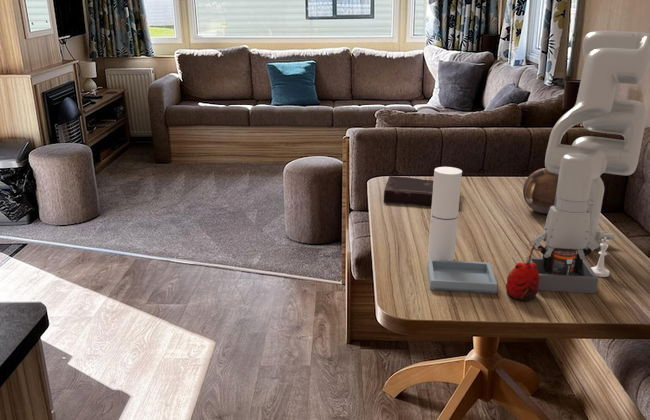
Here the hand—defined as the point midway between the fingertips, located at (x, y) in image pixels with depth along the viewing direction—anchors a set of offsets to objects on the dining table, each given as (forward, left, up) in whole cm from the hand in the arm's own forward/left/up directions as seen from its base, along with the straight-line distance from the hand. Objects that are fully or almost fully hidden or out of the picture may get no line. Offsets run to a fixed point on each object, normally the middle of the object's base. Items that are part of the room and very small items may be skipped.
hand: (560, 270), depth 160 cm
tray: (+25, +2, -3) cm, 25 cm away
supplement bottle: (0, 0, -3) cm, 3 cm away
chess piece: (-12, -7, -3) cm, 14 cm away
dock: (0, 0, -3) cm, 3 cm away
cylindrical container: (+29, -11, -3) cm, 31 cm away
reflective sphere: (-8, -54, -3) cm, 55 cm away
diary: (+32, -64, -4) cm, 72 cm away
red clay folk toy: (+11, +10, -3) cm, 15 cm away
